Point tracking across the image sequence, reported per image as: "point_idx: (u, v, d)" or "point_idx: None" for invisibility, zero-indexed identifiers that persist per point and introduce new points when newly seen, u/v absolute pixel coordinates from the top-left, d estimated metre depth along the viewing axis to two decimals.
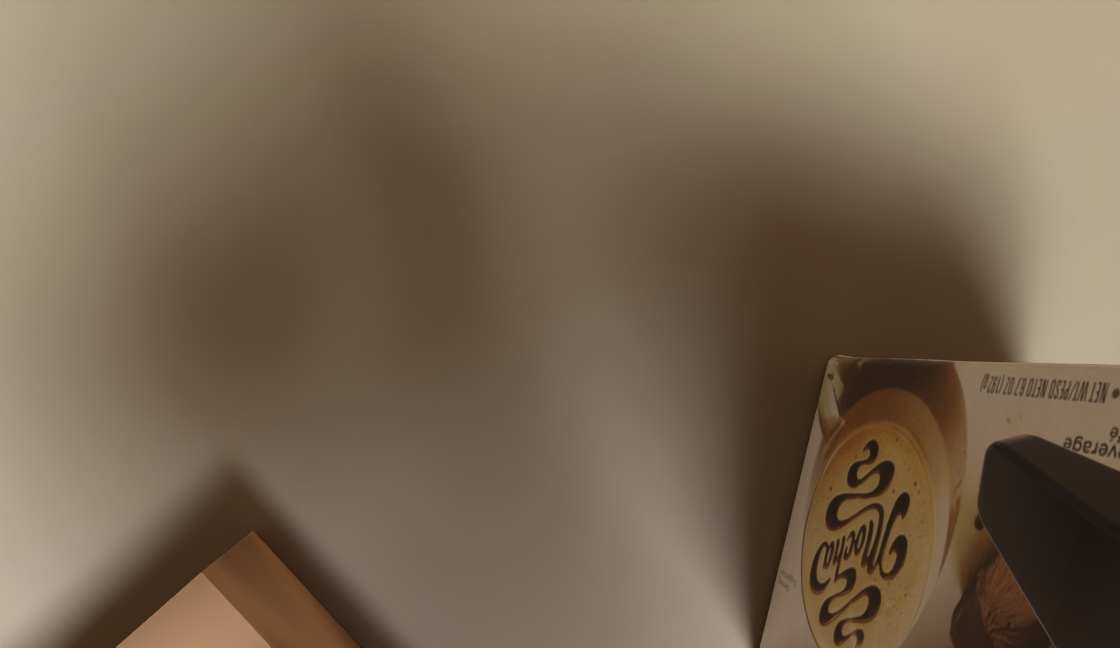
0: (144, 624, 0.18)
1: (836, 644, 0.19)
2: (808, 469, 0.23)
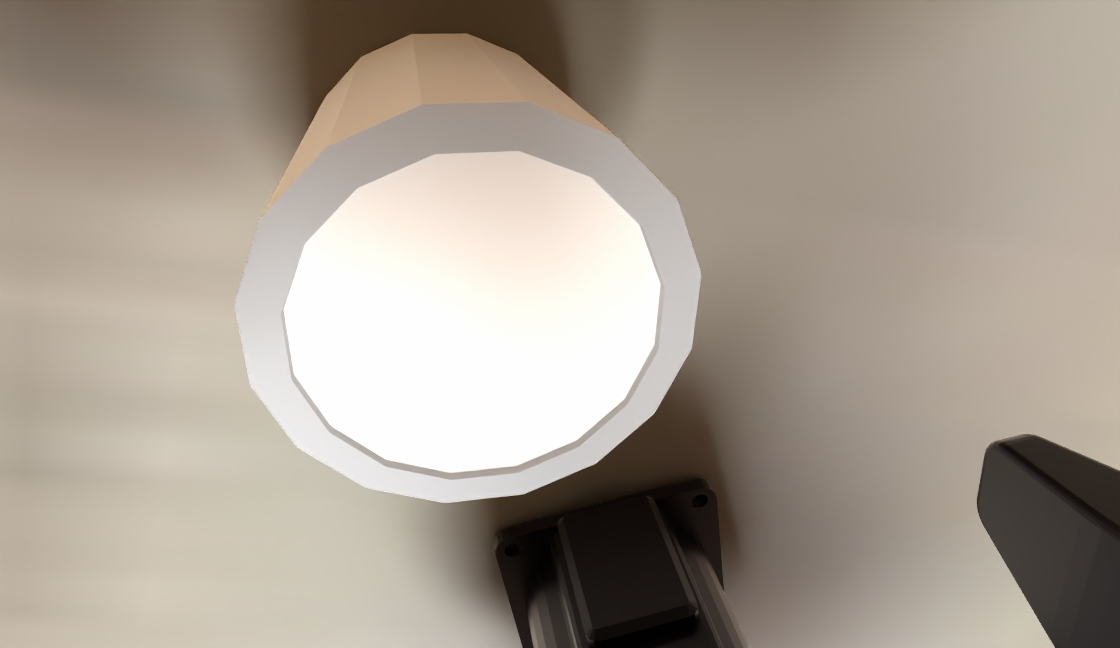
0: None
1: None
2: None
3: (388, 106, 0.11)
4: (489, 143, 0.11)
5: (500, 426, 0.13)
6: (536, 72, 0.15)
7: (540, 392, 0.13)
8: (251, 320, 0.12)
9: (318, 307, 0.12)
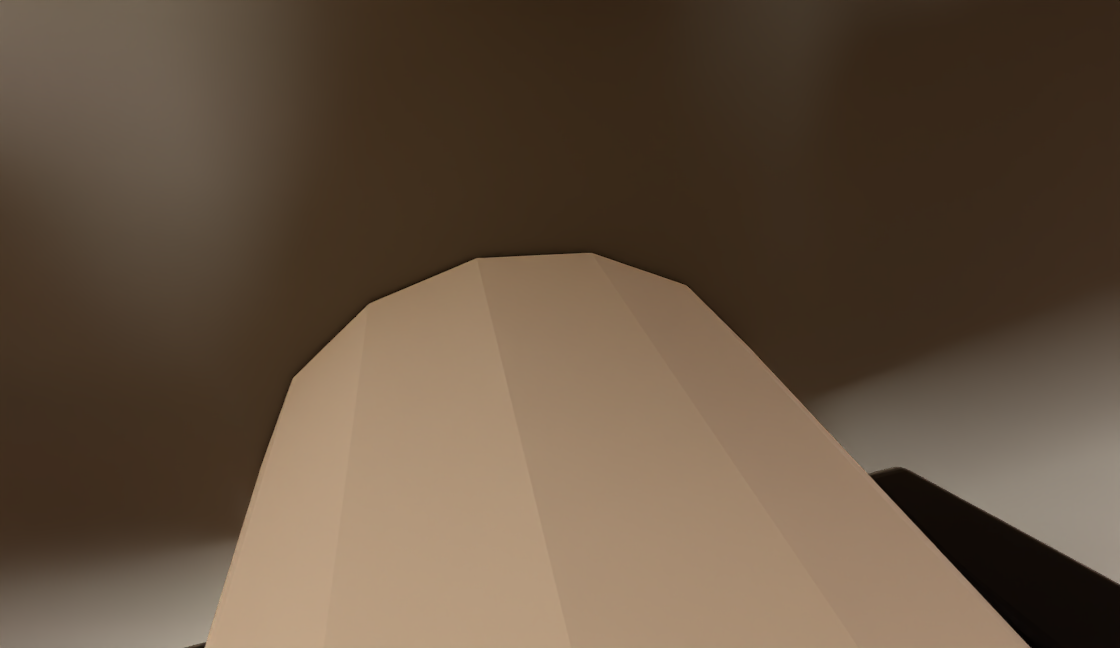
0: None
1: None
2: None
3: None
4: None
5: None
6: (790, 407, 0.06)
7: None
8: None
9: None
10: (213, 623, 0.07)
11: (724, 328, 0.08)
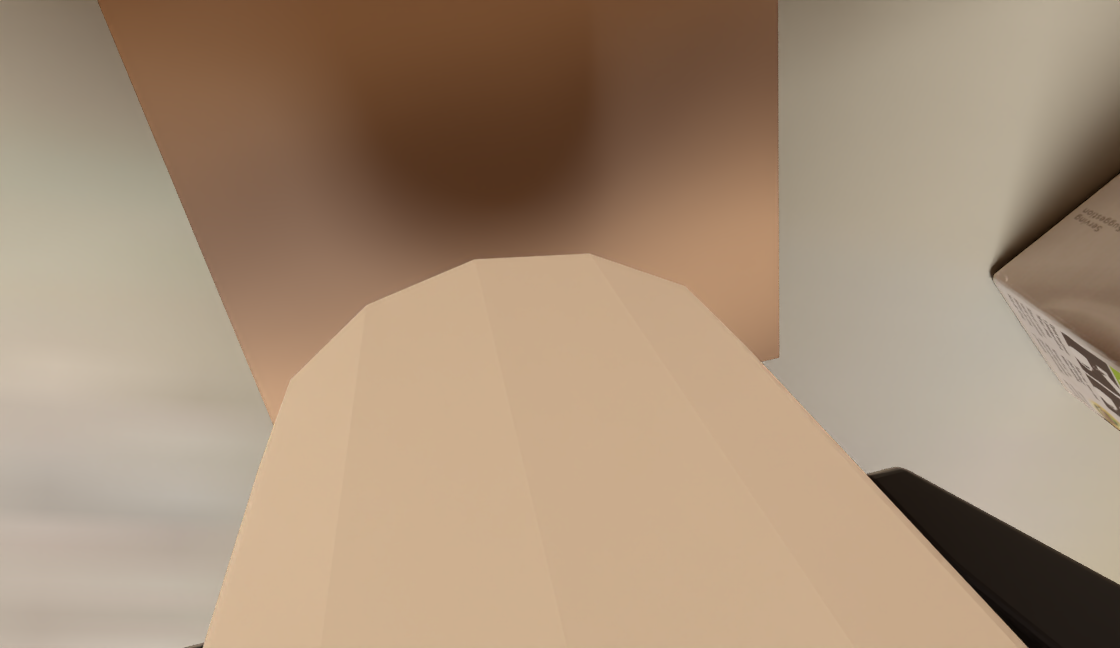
0: None
1: None
2: None
3: None
4: None
5: None
6: (788, 408, 0.06)
7: None
8: None
9: None
10: (210, 627, 0.06)
11: (722, 329, 0.08)
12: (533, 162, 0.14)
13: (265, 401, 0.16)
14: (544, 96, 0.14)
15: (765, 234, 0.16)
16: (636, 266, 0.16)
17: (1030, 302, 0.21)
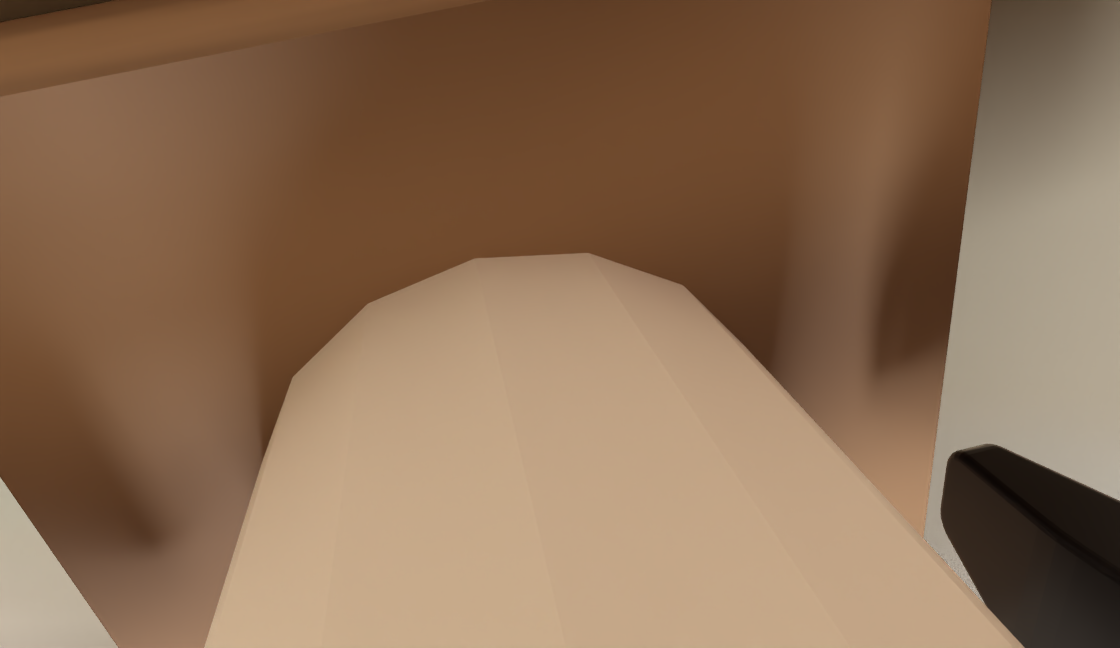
0: None
1: None
2: None
3: None
4: None
5: None
6: (783, 405, 0.06)
7: None
8: None
9: None
10: (213, 619, 0.07)
11: (719, 327, 0.08)
12: None
13: None
14: None
15: (908, 503, 0.11)
16: None
17: None
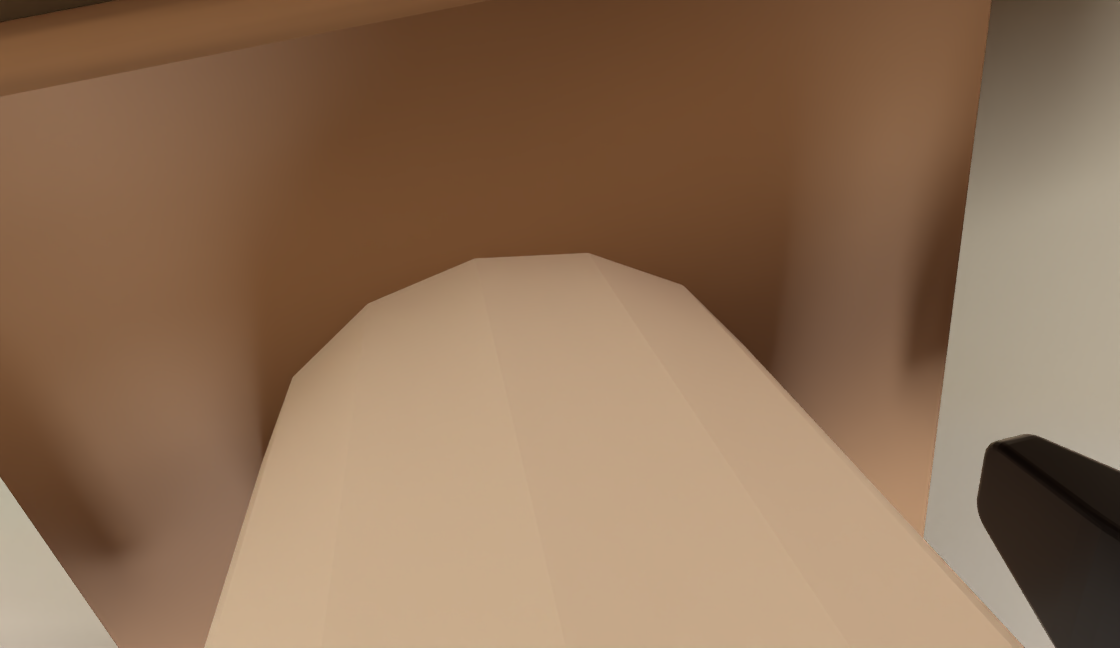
0: None
1: None
2: None
3: None
4: None
5: None
6: (783, 405, 0.06)
7: None
8: None
9: None
10: (213, 619, 0.07)
11: (719, 327, 0.08)
12: None
13: None
14: None
15: (908, 503, 0.11)
16: None
17: None
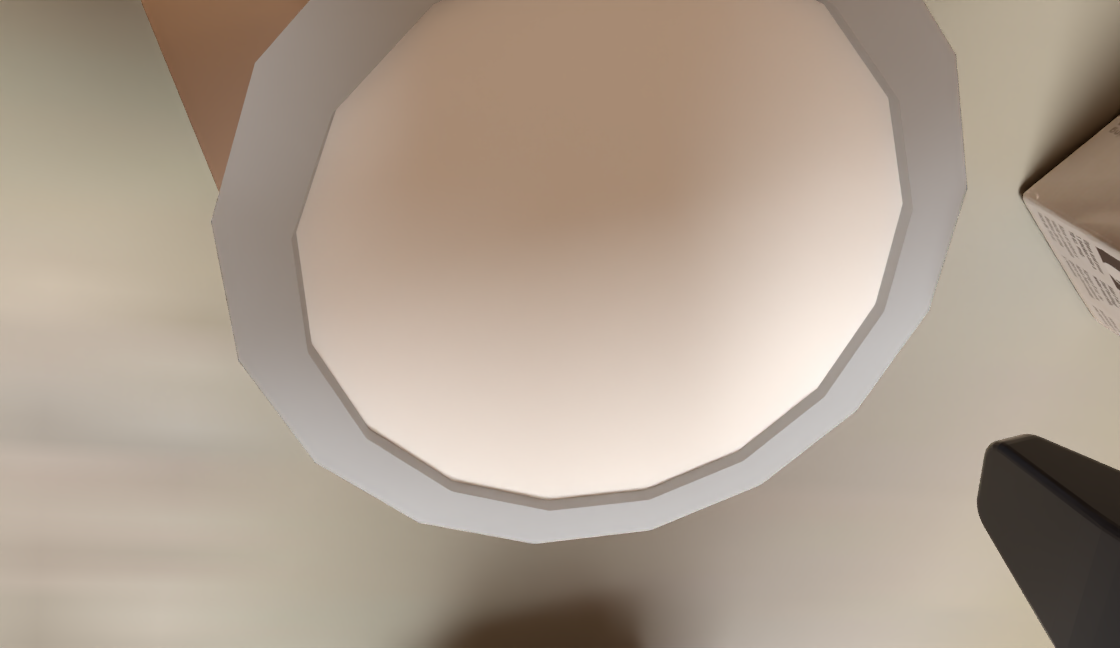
0: None
1: None
2: None
3: None
4: None
5: (628, 429, 0.09)
6: None
7: (695, 377, 0.08)
8: (241, 249, 0.07)
9: (355, 229, 0.07)
10: None
11: None
12: None
13: None
14: None
15: None
16: None
17: (1063, 218, 0.20)
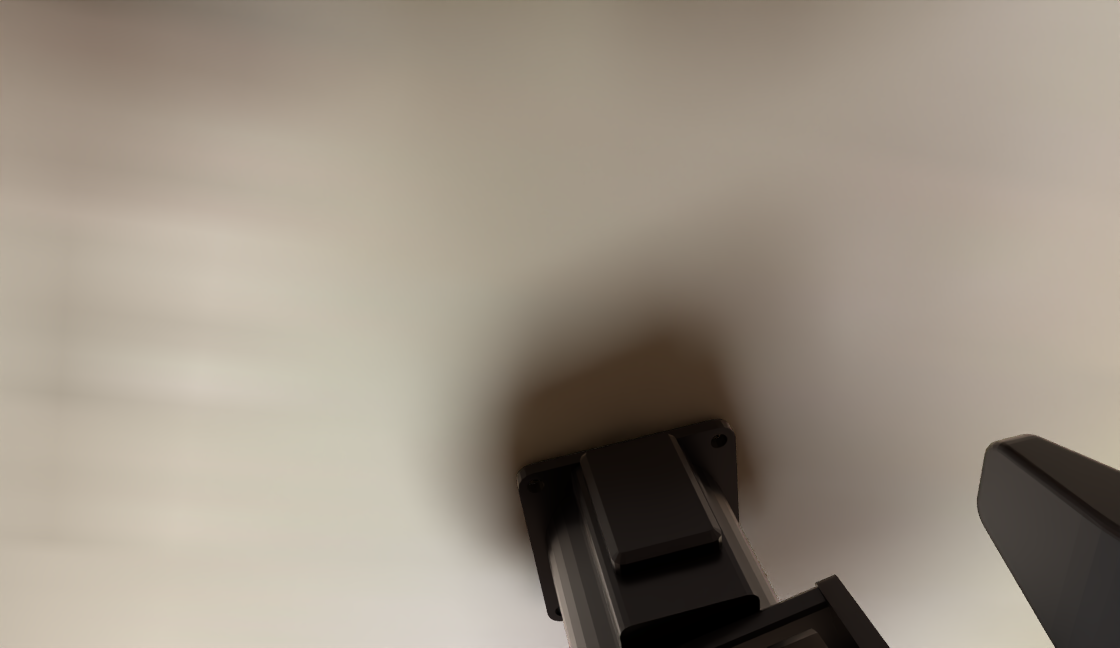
0: None
1: None
2: None
3: None
4: None
5: None
6: None
7: None
8: None
9: None
10: None
11: None
12: None
13: None
14: None
15: None
16: None
17: None
